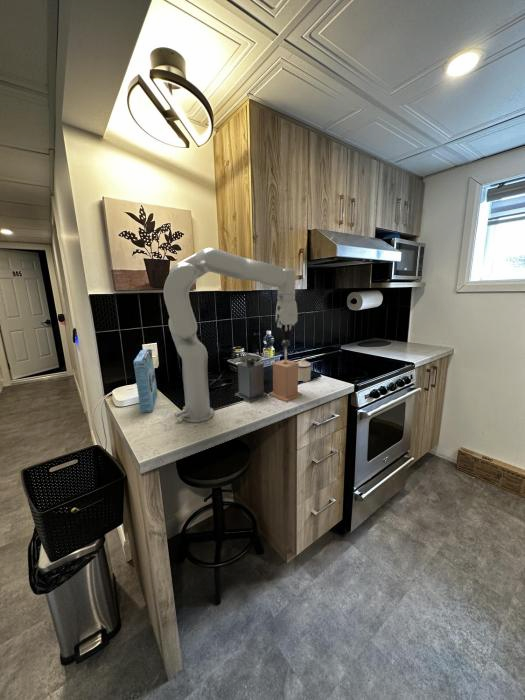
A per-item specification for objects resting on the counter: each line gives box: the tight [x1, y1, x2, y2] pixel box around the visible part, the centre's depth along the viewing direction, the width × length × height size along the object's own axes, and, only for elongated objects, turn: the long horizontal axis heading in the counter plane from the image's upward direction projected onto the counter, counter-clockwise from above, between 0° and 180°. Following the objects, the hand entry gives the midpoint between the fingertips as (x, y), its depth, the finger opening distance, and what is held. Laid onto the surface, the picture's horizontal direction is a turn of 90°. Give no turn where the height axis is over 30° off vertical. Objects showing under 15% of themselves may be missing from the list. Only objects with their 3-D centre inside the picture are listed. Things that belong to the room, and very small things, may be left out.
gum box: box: [133, 348, 158, 414], centre depth 121 cm, size 20×5×23 cm, turn 15°
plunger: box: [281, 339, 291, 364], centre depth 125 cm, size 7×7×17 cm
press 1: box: [234, 361, 269, 404], centre depth 128 cm, size 11×12×16 cm
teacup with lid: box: [296, 358, 312, 383], centre depth 150 cm, size 12×9×12 cm
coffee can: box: [240, 354, 261, 363], centre depth 144 cm, size 10×10×14 cm
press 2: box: [268, 359, 303, 403], centre depth 128 cm, size 11×12×16 cm
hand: (285, 339), depth 123 cm, fingers closed
